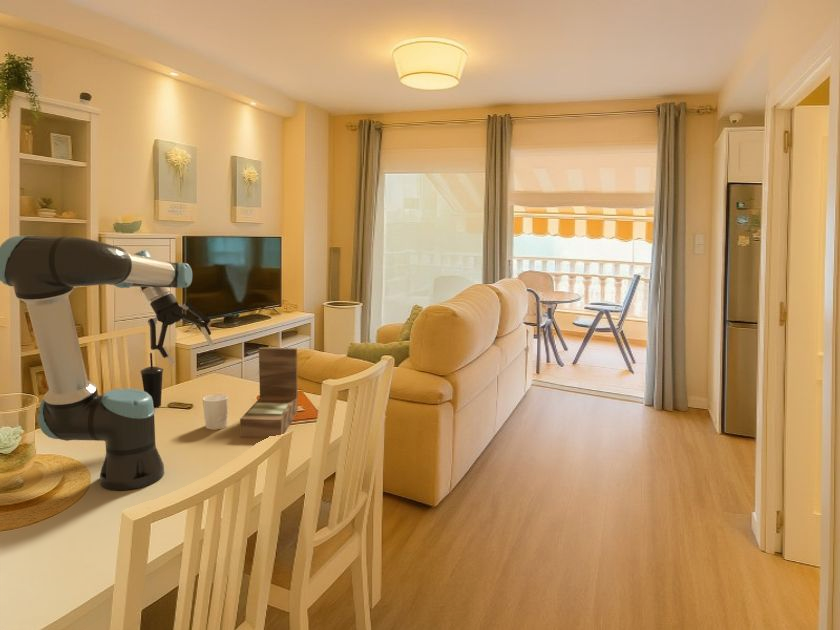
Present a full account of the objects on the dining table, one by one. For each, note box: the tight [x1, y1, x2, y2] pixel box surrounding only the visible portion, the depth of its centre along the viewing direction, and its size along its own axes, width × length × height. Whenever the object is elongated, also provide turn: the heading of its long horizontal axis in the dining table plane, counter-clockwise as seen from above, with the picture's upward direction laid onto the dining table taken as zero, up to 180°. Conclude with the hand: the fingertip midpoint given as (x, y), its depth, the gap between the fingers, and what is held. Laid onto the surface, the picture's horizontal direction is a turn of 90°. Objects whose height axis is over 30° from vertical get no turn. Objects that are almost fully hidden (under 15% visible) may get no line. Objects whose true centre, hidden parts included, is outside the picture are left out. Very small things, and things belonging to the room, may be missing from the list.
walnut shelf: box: [239, 347, 299, 439], centre depth 187 cm, size 24×13×24 cm, turn 0°
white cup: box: [202, 393, 229, 431], centre depth 185 cm, size 8×8×10 cm
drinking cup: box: [139, 352, 164, 409], centre depth 203 cm, size 8×8×20 cm
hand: (193, 354), depth 183 cm, fingers open, 13 cm apart
